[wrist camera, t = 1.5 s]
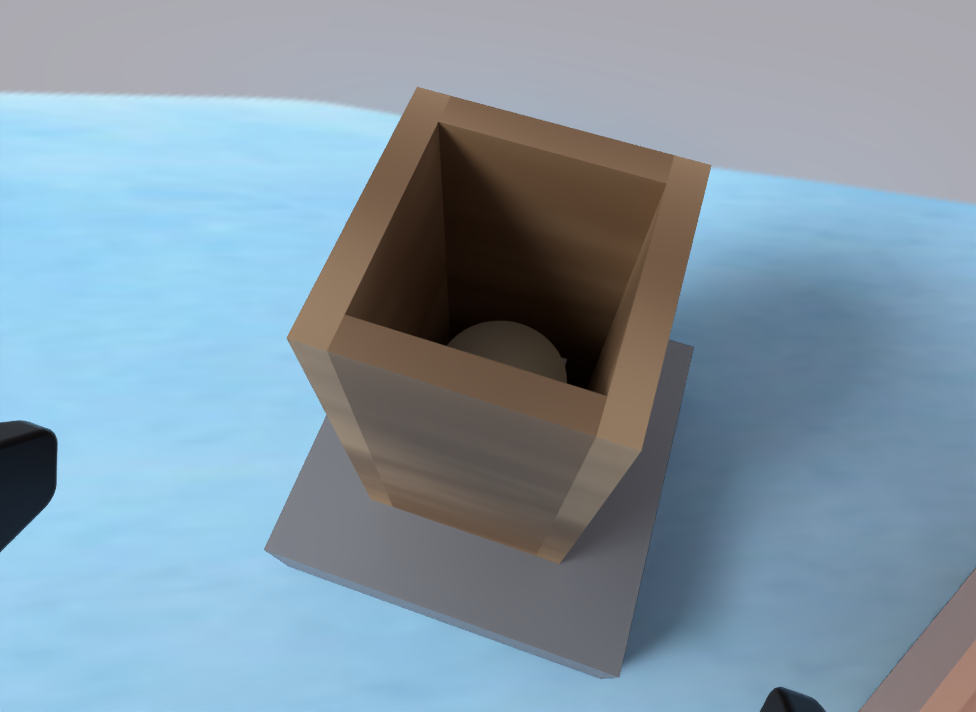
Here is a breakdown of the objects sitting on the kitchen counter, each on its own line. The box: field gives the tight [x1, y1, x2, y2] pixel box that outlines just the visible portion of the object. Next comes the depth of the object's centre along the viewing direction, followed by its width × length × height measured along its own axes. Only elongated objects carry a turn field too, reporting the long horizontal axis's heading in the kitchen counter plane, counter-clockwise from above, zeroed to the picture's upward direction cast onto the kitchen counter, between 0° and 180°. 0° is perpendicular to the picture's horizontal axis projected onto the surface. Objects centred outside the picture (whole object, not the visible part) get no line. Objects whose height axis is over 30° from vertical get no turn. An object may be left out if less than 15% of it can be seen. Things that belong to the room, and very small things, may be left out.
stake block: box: [264, 321, 694, 679], centre depth 18 cm, size 9×9×7 cm
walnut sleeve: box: [287, 87, 711, 564], centre depth 15 cm, size 6×5×9 cm
